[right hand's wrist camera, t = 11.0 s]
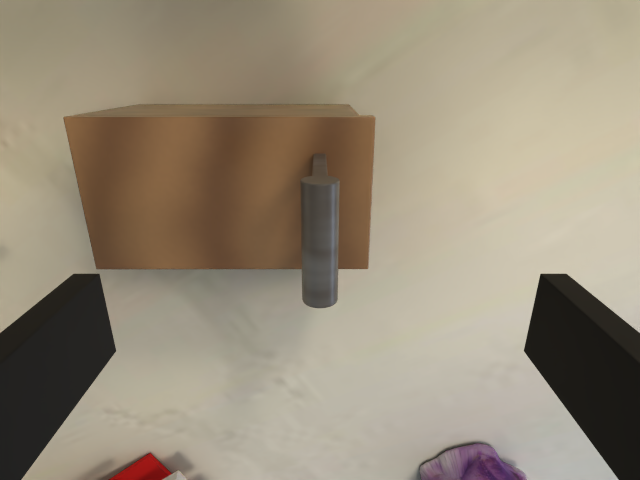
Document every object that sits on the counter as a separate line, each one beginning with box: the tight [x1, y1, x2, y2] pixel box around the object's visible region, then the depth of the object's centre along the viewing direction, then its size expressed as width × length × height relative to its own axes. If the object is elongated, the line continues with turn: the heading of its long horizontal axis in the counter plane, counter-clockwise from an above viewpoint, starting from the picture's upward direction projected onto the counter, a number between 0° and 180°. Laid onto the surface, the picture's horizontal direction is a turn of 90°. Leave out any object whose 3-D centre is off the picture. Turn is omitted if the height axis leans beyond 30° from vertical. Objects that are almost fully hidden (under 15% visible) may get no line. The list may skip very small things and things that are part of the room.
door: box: [64, 115, 375, 308], centre depth 21 cm, size 17×9×9 cm, turn 90°
